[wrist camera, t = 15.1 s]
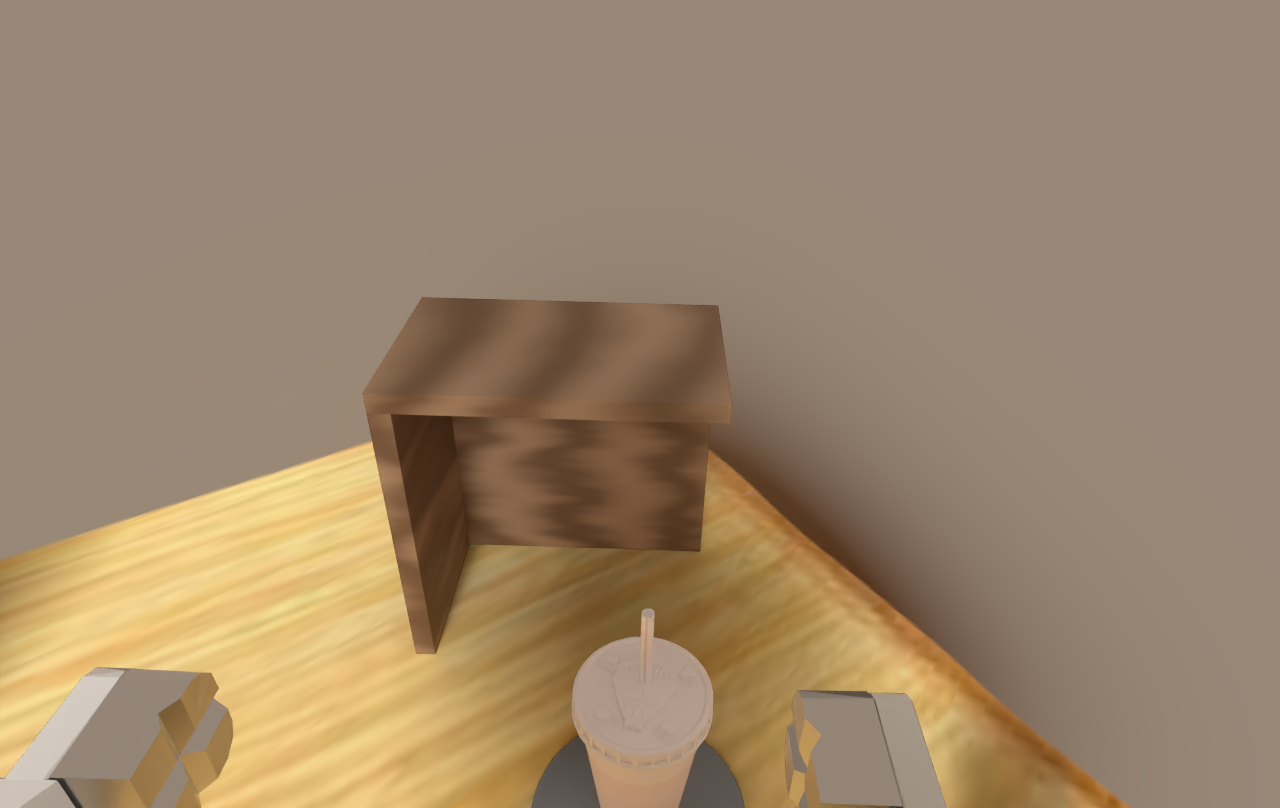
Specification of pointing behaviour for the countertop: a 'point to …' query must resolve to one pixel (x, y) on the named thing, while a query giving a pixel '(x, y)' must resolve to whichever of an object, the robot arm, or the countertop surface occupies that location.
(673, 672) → the smoothie
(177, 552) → the countertop surface
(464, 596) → the countertop surface
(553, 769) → the coaster
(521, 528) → the shelf
